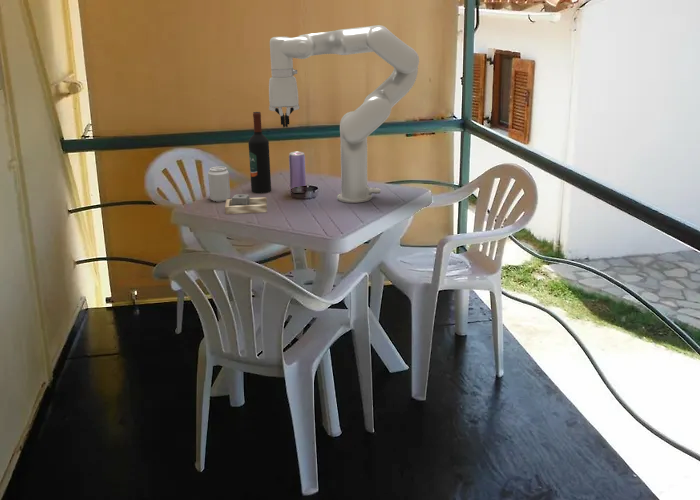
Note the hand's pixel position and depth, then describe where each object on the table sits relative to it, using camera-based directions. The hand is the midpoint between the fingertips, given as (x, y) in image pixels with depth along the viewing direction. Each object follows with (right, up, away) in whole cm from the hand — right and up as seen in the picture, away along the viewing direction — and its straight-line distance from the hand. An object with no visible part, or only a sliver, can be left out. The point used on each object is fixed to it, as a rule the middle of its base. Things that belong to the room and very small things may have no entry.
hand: (285, 126), depth 258 cm
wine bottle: (-11, -21, +21) cm, 32 cm away
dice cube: (-15, -30, -2) cm, 34 cm away
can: (-25, -25, +11) cm, 37 cm away
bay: (-13, -29, -2) cm, 32 cm away
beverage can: (+3, -22, +19) cm, 29 cm away
